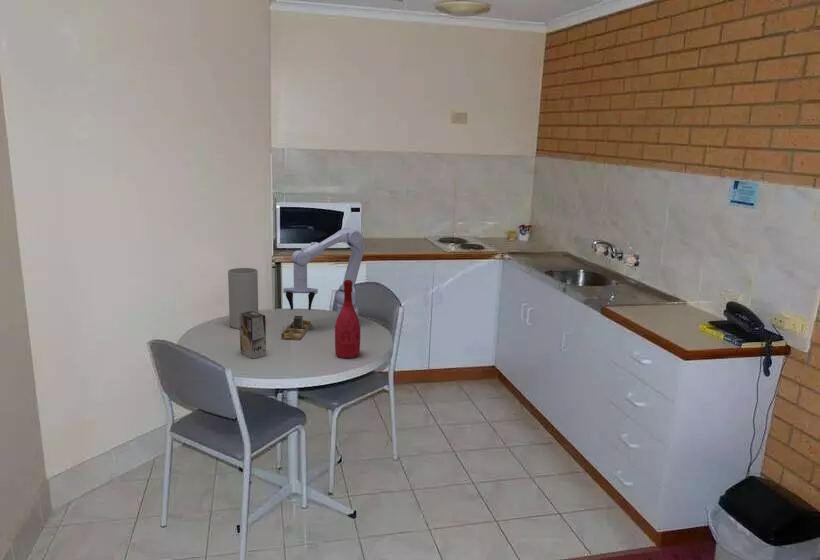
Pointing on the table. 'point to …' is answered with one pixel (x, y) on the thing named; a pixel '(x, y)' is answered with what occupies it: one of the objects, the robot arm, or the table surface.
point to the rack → (296, 331)
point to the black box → (298, 322)
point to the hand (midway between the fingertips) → (300, 309)
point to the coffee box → (252, 334)
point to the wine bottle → (347, 327)
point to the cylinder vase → (242, 293)
